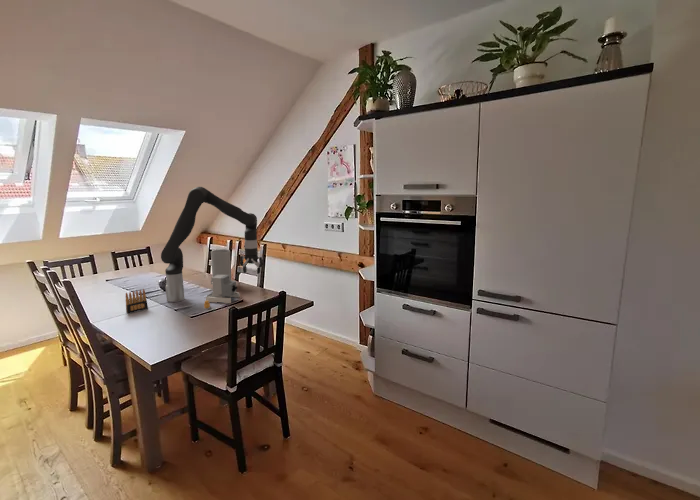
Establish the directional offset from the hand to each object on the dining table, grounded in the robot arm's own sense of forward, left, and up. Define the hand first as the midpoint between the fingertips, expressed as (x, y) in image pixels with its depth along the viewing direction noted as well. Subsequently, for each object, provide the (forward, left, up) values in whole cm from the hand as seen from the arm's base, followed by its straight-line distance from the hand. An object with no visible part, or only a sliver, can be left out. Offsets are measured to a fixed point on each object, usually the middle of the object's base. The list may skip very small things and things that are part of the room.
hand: (251, 273), depth 218 cm
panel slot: (-19, 0, -18) cm, 26 cm away
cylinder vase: (-35, +27, -18) cm, 48 cm away
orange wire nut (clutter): (-22, -15, -18) cm, 32 cm away
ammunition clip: (-58, -27, -18) cm, 67 cm away
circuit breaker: (-18, -1, -18) cm, 25 cm away
